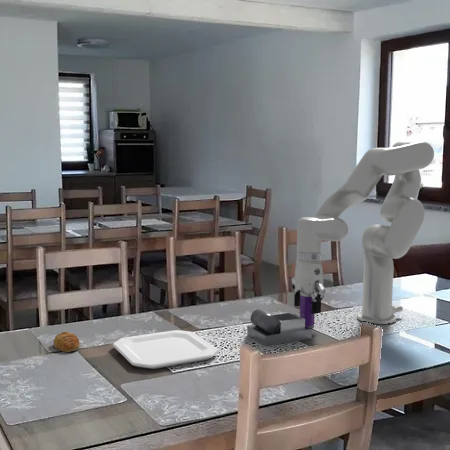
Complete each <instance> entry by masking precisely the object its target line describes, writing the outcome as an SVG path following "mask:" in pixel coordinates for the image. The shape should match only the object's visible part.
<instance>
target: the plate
mask: <svg viewBox="0 0 450 450" xmlns="http://www.w3.org/2000/svg"><path fill="white" fill-rule="evenodd" d="M112 346H113V348H114V349H115V350H116V351H118V353H119V354H121V356H122V357H124V358H125V360H127V361H128V363H130V364H131V365H132V366H134V367H136V368H137V367H138V368H142V369H149V370H155V369H161V368H168V367H169V368H170V367H173V366H178V365H179V366H180V365H185V364H190V363H195V362H202V361H205V360H208V359H211V358H213V357H215V355H217V353H218V352H219V349H218V348H217V347H216V346H214V345H212V344H211V343H209V342H208V341H206V340H205V339H204V338H202V337H201V336H199V335H197V334H196V333H195V332H193V331H188V330H181V329H180V330H179V329H178V330H177V329H175V330H166V331H161V332H160V331H159V332H154V333H147V334H140V335H133V336H126V337H121V338H119V339H118V340H115V342H113V343H112Z"/></svg>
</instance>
